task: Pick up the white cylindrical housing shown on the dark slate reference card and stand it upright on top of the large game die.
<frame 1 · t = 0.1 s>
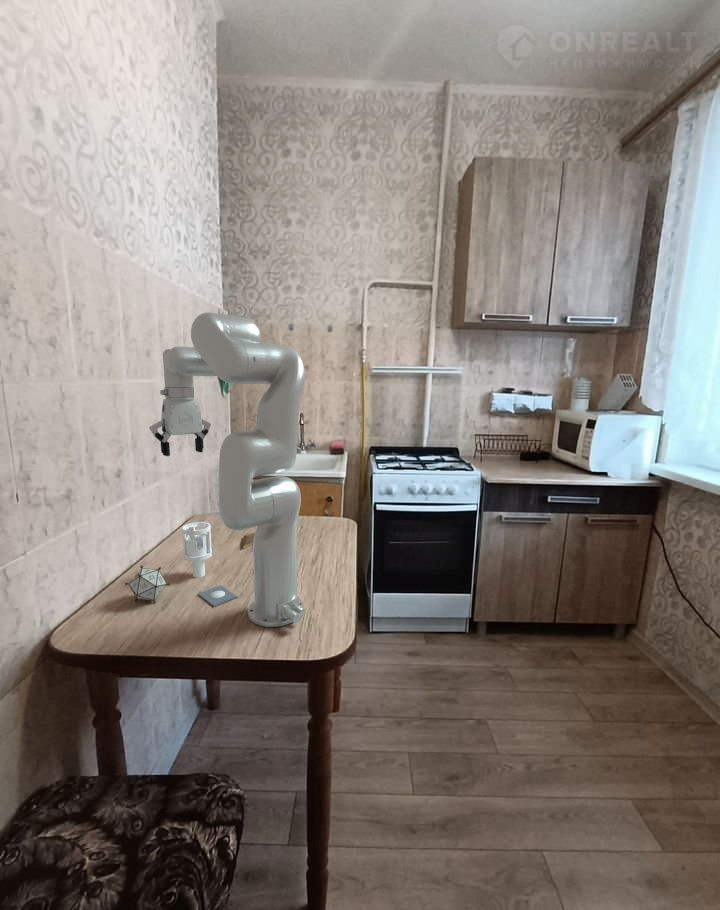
hand: (183, 453, 119), 31 cm above the table, tool pointing down, fingers open, 9 cm apart
game die: (149, 600, 99), on the table
shard: (255, 543, 136), on the table
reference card: (217, 596, 101), on the table
white cylindrical housing: (199, 575, 112), on the table
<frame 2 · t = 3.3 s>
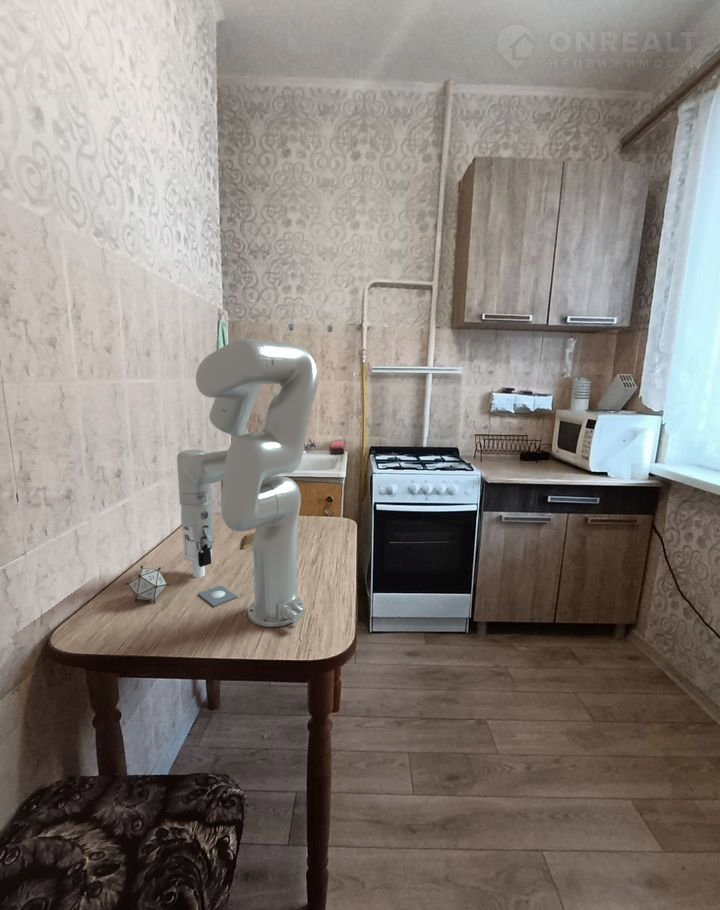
hand: (198, 560, 111), 4 cm above the table, tool pointing down, fingers closed on white cylindrical housing, 6 cm apart
white cylindrical housing: (199, 575, 112), on the table, touching gripper
everything else where it was.
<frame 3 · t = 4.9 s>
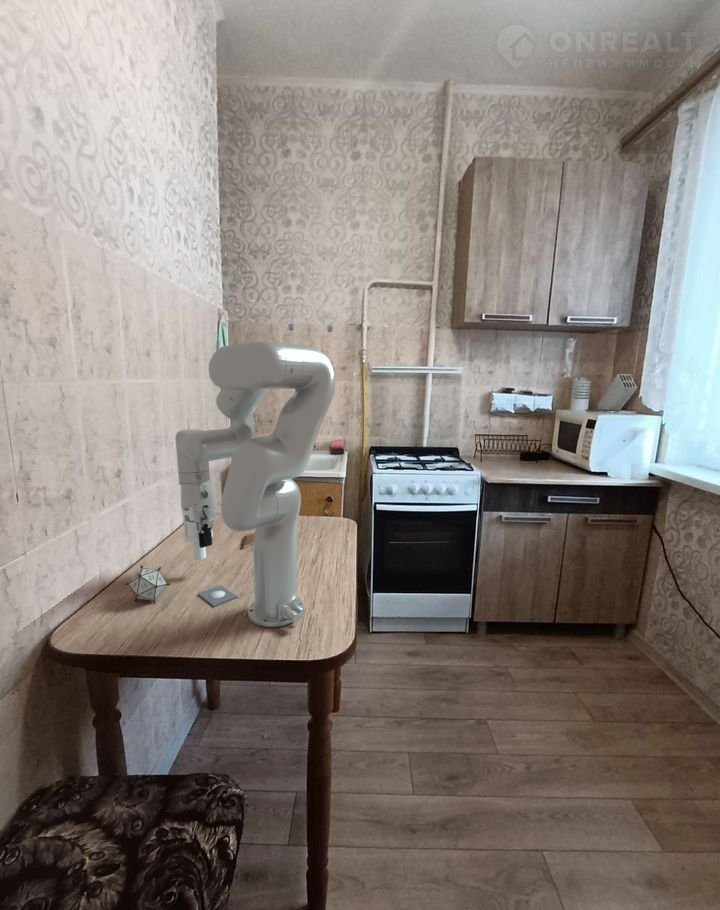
hand: (199, 542, 110), 10 cm above the table, tool pointing down, fingers closed on white cylindrical housing, 6 cm apart
white cylindrical housing: (200, 558, 110), point 5 cm above the table, touching gripper
everything else where it was.
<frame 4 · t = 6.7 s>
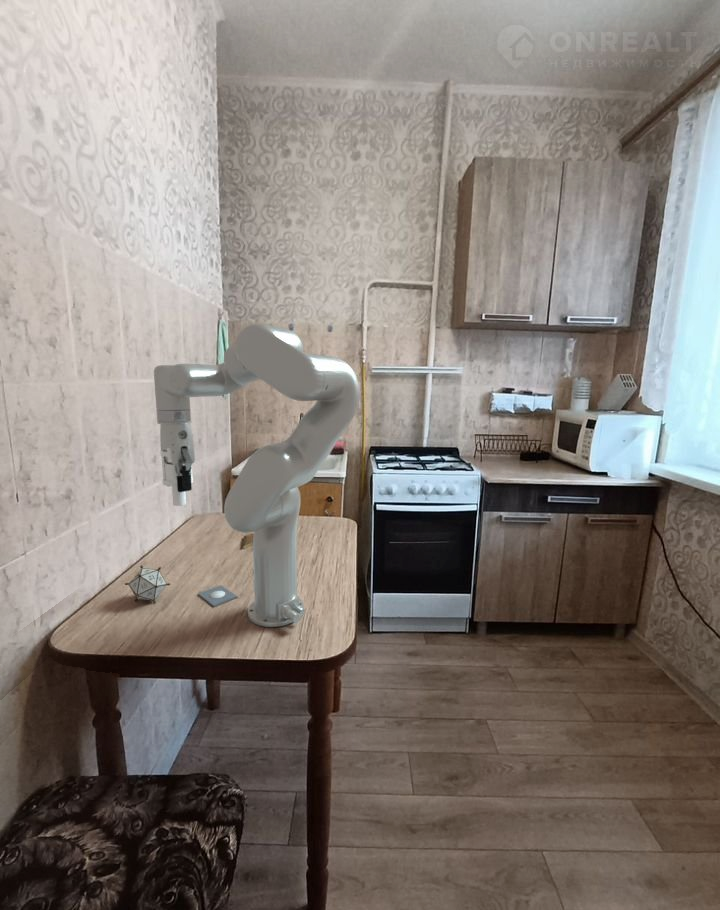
hand: (178, 487, 103), 26 cm above the table, tool pointing down, fingers closed on white cylindrical housing, 6 cm apart
white cylindrical housing: (179, 504, 104), point 21 cm above the table, touching gripper
everything else where it was.
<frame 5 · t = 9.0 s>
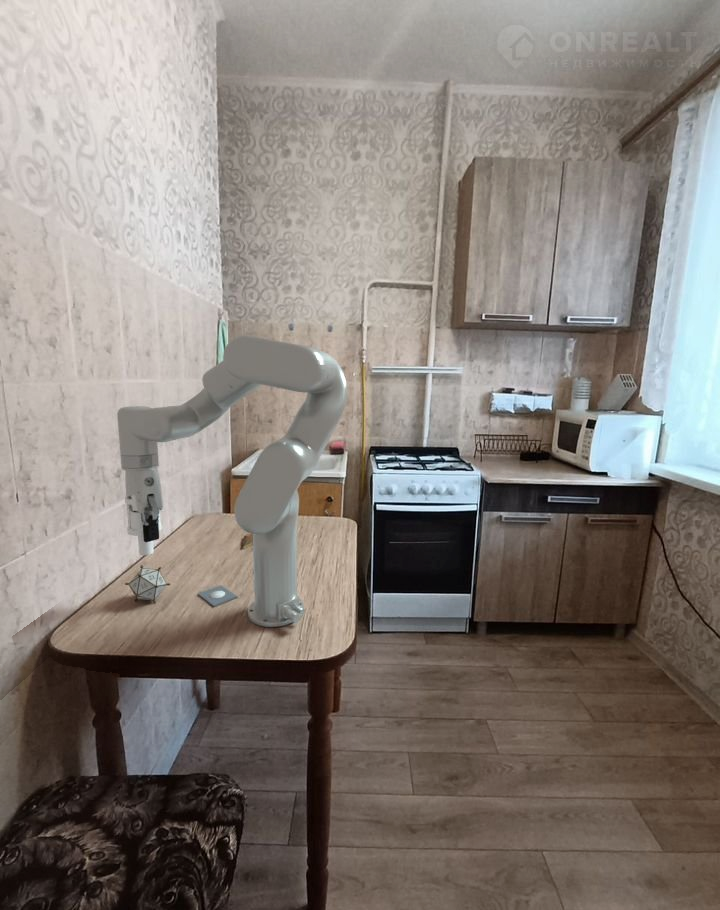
hand: (145, 535, 96), 16 cm above the table, tool pointing down, fingers closed on white cylindrical housing, 6 cm apart
white cylindrical housing: (146, 553, 97), point 12 cm above the table, touching gripper
everything else where it was.
when the fingers open (14 cm above the table, at t = 10.1 s): white cylindrical housing drops 1 cm, resting on game die.
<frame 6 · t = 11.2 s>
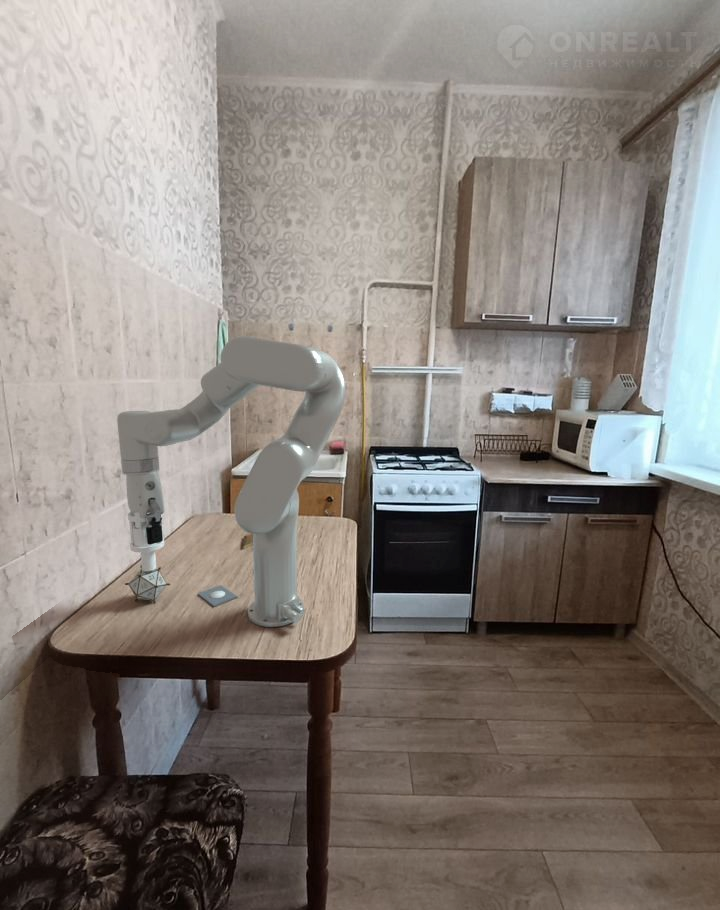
hand: (147, 537, 96), 16 cm above the table, tool pointing down, fingers open, 9 cm apart
game die: (149, 600, 99), on the table, touching white cylindrical housing
white cylindrical housing: (149, 569, 98), point 8 cm above the table, touching game die
everything else where it was.
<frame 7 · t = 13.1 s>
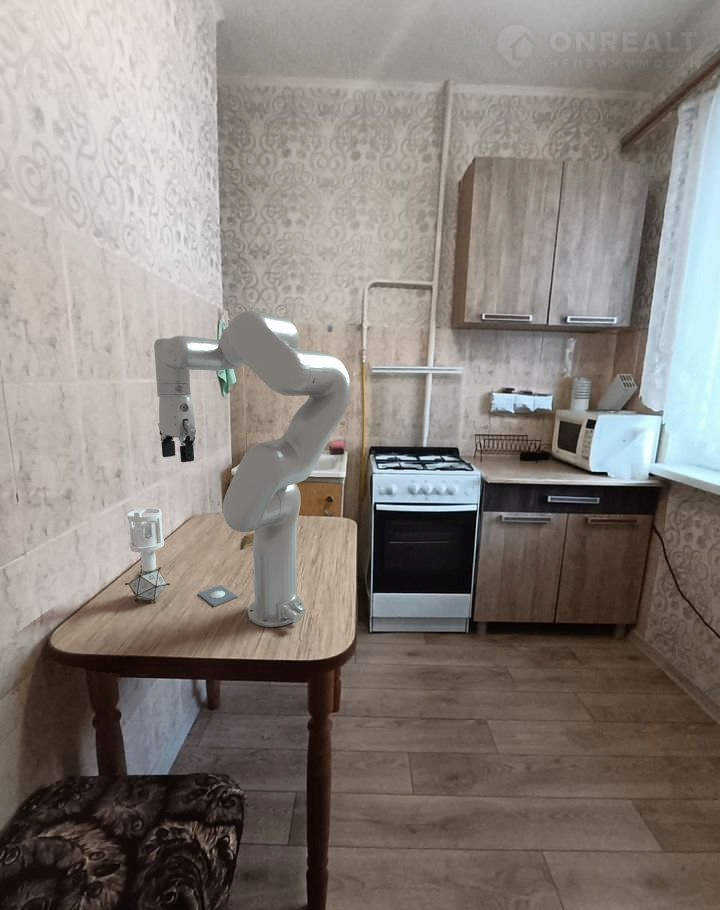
hand: (178, 458, 105), 32 cm above the table, tool pointing down, fingers open, 9 cm apart
nothing on the table moved.
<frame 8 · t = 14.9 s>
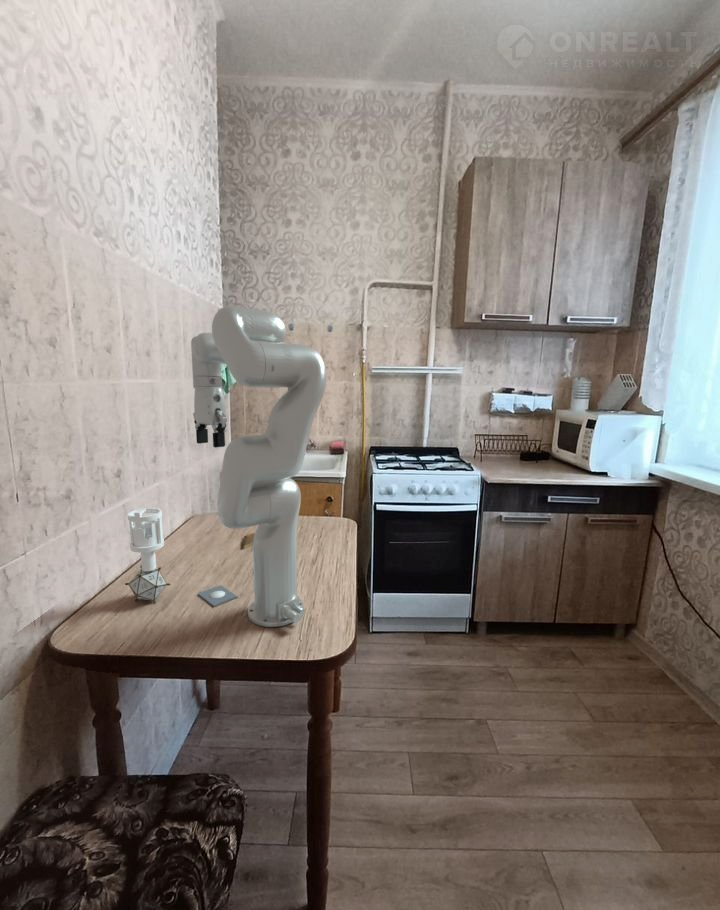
hand: (210, 444, 116), 34 cm above the table, tool pointing down, fingers open, 9 cm apart
nothing on the table moved.
at the end: white cylindrical housing 0.5 cm off-centre on the game die, point 8.0 cm above the game die's base; white cylindrical housing tilted 0°; the gripper is holding nothing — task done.
